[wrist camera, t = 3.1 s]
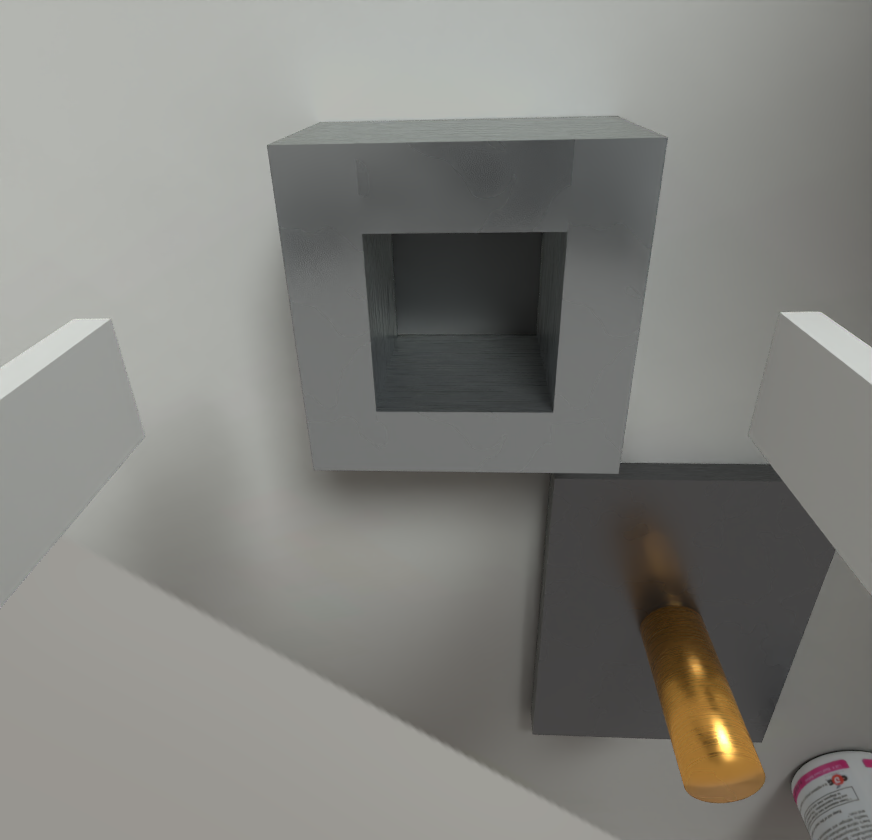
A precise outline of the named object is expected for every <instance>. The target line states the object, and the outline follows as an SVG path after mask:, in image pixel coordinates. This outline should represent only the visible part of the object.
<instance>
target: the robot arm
mask: <svg viewBox="0 0 872 840" xmlns="http://www.w3.org/2000/svg"><path fill="white" fill-rule="evenodd" d="M748 436H749V437H750V439H751V440H752V441H753V443H754V444H755V445H756V446H757V448H758V449H759V450H760V452H761V453H762V454H763V456H764V457H765V458H766V460H767V461H768V462H769V463H770V465H771V466H772V467H773V469H774V470H775V471H776V473H777V474H778V475H779V476H780V478H781V479H782V480H783V482H784V483H785V484H786V486H787V487H788V488H789V489H790V491H791V492H792V493H793V495H794V496H795V497H796V499H797V500H798V501H799V502H800V504H801V505H802V506H803V508H804V509H805V510H806V512H807V513H808V514H809V516H810V517H811V518H812V519H813V521H814V522H815V523H816V525H817V526H818V527H819V529H820V530H821V531H822V532H823V534H824V535H825V536H826V538H827V539H828V540H829V542H830V543H831V544H832V545H833V547H834V548H835V549H836V551H837V552H838V553H839V555H840V556H841V557H842V558H843V560H844V561H845V562H846V564H847V565H848V566H849V568H850V569H851V570H852V572H853V573H854V574H855V575H856V577H857V578H858V579H859V581H860V582H861V583H862V585H863V586H864V587H865V588H866V590H867V591H868V592H869V594H870V595H871V596H872V347H871V346H869V345H868V344H866V343H865V342H863V341H862V340H860V339H859V338H858V337H856V336H855V335H853V334H852V333H850V332H849V331H848V330H846V329H845V328H843V327H842V326H840V325H839V324H837V323H836V322H835V321H833V320H832V319H830V318H829V317H827V316H826V315H824V314H823V313H822V312H779V316H778V320H777V324H776V328H775V332H774V336H773V340H772V343H771V347H770V351H769V355H768V359H767V363H766V367H765V371H764V375H763V379H762V382H761V386H760V390H759V394H758V398H757V402H756V406H755V410H754V414H753V417H752V421H751V425H750V429H749V433H748ZM144 437H145V433H144V430H143V427H142V423H141V420H140V416H139V413H138V409H137V406H136V403H135V399H134V396H133V392H132V389H131V385H130V382H129V378H128V375H127V372H126V368H125V365H124V361H123V358H122V354H121V351H120V348H119V344H118V341H117V337H116V334H115V330H114V327H113V324H112V320H111V319H73V320H71V321H70V322H68V323H67V324H65V325H64V326H62V327H61V328H59V329H58V330H56V331H55V332H53V333H52V334H50V335H49V336H47V337H46V338H44V339H43V340H41V341H40V342H38V343H37V344H35V345H34V346H32V347H31V348H29V349H28V350H26V351H25V352H23V353H22V354H20V355H19V356H17V357H16V358H14V359H13V360H11V361H10V362H8V363H7V364H5V365H4V366H2V367H1V368H0V608H1V607H2V606H3V605H4V603H5V602H6V601H7V600H8V599H9V597H10V596H11V595H12V594H13V593H14V592H15V590H16V589H17V588H18V587H19V585H20V584H21V583H22V582H23V581H24V580H25V578H26V577H27V576H28V575H29V574H30V573H31V571H32V570H33V569H34V568H35V567H36V565H37V564H38V563H39V562H40V561H41V559H42V558H43V557H44V556H45V555H46V554H47V552H48V551H49V550H50V549H51V548H52V546H53V545H54V544H55V543H56V542H57V540H58V539H59V538H60V537H61V536H62V535H63V533H64V532H65V531H66V530H67V529H68V528H69V526H70V525H71V524H72V523H73V522H74V520H75V519H76V518H77V517H78V516H79V515H80V513H81V512H82V511H83V510H84V509H85V507H86V506H87V505H88V504H89V503H90V501H91V500H92V499H93V498H94V497H95V496H96V494H97V493H98V492H99V491H100V490H101V488H102V487H103V486H104V485H105V484H106V482H107V481H108V480H109V479H110V478H111V477H112V475H113V474H114V473H115V472H116V471H117V469H118V468H119V467H120V466H121V465H122V464H123V462H124V461H125V460H126V459H127V458H128V456H129V455H130V454H131V453H132V452H133V450H134V449H135V448H136V447H137V446H138V445H139V443H140V442H141V441H142V440H143V439H144Z"/></svg>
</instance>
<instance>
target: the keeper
mask: <svg viewBox="0 0 872 840" xmlns="http://www.w3.org/2000/svg"><path fill="white" fill-rule="evenodd" d="M835 550H836V549H835V548H834V547H833V545H832V544H831V543H830V542H829V540H828V539H827V538H826V536H825V535H824V534H823V532H822V531H821V530H820V529H819V527H818V526H817V525H816V523H815V522H814V521H813V519H812V518H811V517H810V516H809V514H808V513H807V512H806V510H805V509H804V508H803V506H802V505H801V504H800V502H799V501H798V500H797V499H796V497H795V496H794V495H793V493H792V492H791V491H790V489H789V488H788V487H787V486H786V484H785V483H784V482H783V480H782V479H781V478H780V476H779V475H778V474H777V473H776V471H775V470H774V469H773V467H772V466H771V465H754V464H660V463H620V467H619V474H598V473H551V476H550V488H549V501H548V513H547V525H546V537H545V550H544V562H543V574H542V586H541V598H540V611H539V623H538V635H537V647H536V660H535V672H534V684H533V696H532V708H531V720H532V732H533V734H538V735H566V736H594V737H622V738H650V739H671V742H672V746H673V749H674V753H675V756H676V760H677V763H678V767H679V770H680V774H681V777H682V781H683V784H684V788H685V790H686V791H687V792H688V793H689V794H690V795H691V796H692V797H694V798H696V799H698V800H701V801H705V802H711V803H728V802H734V801H738V800H742V799H745V798H747V797H749V796H751V795H753V794H755V793H756V792H757V791H758V790H759V789H760V788H761V787H762V786H763V784H764V782H765V773H764V770H763V768H762V765H761V763H760V760H759V758H758V756H757V753H756V751H755V748H754V746H753V743H752V742H762V740H763V738H764V735H765V732H766V730H767V727H768V725H769V722H770V719H771V717H772V714H773V712H774V709H775V706H776V704H777V701H778V699H779V696H780V693H781V691H782V688H783V685H784V683H785V680H786V678H787V675H788V672H789V670H790V667H791V665H792V662H793V659H794V657H795V654H796V651H797V649H798V646H799V644H800V641H801V638H802V636H803V633H804V631H805V628H806V625H807V623H808V620H809V618H810V615H811V612H812V610H813V607H814V604H815V602H816V599H817V597H818V594H819V591H820V589H821V586H822V584H823V581H824V578H825V576H826V573H827V571H828V568H829V565H830V563H831V560H832V557H833V555H834V552H835Z"/></svg>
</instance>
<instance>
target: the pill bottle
mask: <svg viewBox="0 0 872 840" xmlns="http://www.w3.org/2000/svg"><path fill="white" fill-rule="evenodd" d="M791 790H792V794H793V797H794V800H795V802H796V804H797V807H798V809H799V811H800V814H801V816H802V818H803V821H804V823H805V825H806V828H807V830H808V832H809V834H810V837H811V839H812V840H872V753H870V752H864V751H841V752H834V753H829V754H826V755H823V756H820V757H817V758H815V759H813V760H811V761H809V762H808V763H806V764H805V765H803V766H802V767H801V768H800V769H799V770H798V771H797V773H796V774H795V776H794V778H793V780H792V784H791Z"/></svg>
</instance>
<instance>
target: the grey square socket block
mask: <svg viewBox="0 0 872 840" xmlns="http://www.w3.org/2000/svg"><path fill="white" fill-rule="evenodd" d="M667 140H668V137H665V136H663V135H661V134H658V133H656V132H654V131H651V130H649V129H647V128H644V127H642V126H640V125H637V124H635V123H633V122H630V121H628V120H626V119H623V118H621V117H619V116H607V117H559V118H511V119H463V120H415V121H367V122H319V123H317V124H315V125H312V126H310V127H308V128H306V129H303V130H301V131H299V132H296V133H294V134H292V135H289V136H287V137H285V138H282V139H280V140H278V141H275V142H273V143H271V144H268V145H267V149H268V156H269V163H270V170H271V177H272V184H273V191H274V198H275V204H276V211H277V218H278V225H279V232H280V239H281V246H282V253H283V260H284V267H285V274H286V280H287V287H288V294H289V301H290V308H291V315H292V322H293V329H294V336H295V343H296V350H297V356H298V363H299V370H300V377H301V384H302V391H303V398H304V405H305V412H306V419H307V426H308V432H309V439H310V446H311V453H312V460H313V467H314V470H343V471H428V472H513V473H598V474H619V467H620V460H621V453H622V446H623V440H624V433H625V426H626V419H627V412H628V406H629V399H630V392H631V385H632V378H633V372H634V365H635V358H636V351H637V344H638V337H639V331H640V324H641V317H642V310H643V303H644V297H645V290H646V283H647V276H648V269H649V263H650V256H651V249H652V242H653V235H654V229H655V222H656V215H657V208H658V201H659V194H660V188H661V181H662V174H663V167H664V160H665V154H666V147H667ZM494 232H543V233H542V250H541V267H540V283H539V300H538V316H537V333H536V335H397V318H396V300H395V283H394V265H393V248H392V234H398V233H494Z"/></svg>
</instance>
